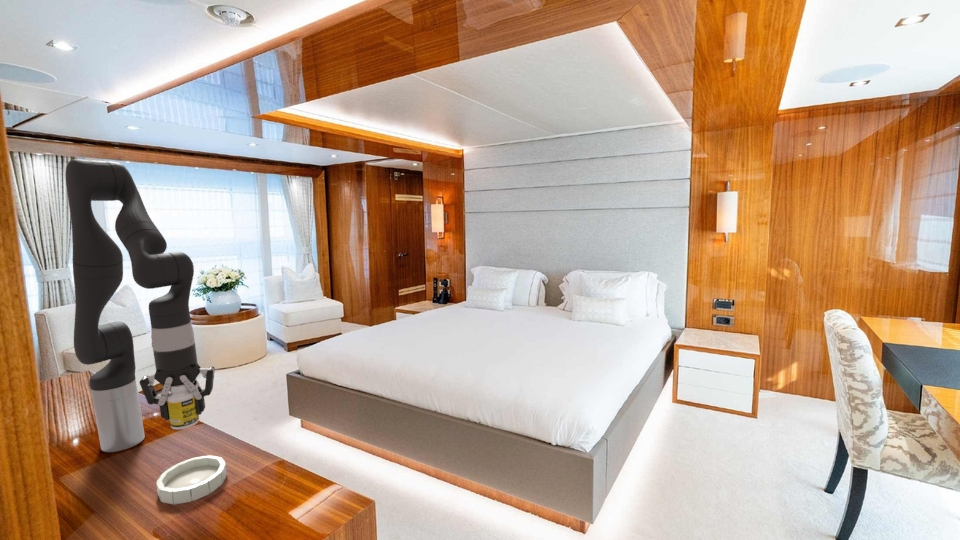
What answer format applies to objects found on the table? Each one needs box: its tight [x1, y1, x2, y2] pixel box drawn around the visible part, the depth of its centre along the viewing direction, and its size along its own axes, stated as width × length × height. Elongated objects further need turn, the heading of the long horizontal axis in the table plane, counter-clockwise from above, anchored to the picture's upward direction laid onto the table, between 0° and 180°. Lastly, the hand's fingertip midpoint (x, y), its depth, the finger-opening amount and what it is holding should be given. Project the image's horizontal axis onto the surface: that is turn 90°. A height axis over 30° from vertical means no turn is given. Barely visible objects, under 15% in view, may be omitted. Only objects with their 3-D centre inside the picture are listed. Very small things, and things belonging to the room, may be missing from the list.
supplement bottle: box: [167, 384, 200, 430], centre depth 97 cm, size 5×5×10 cm
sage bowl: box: [155, 455, 228, 505], centre depth 100 cm, size 13×13×3 cm
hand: (184, 415), depth 98 cm, fingers closed on supplement bottle, 5 cm apart
